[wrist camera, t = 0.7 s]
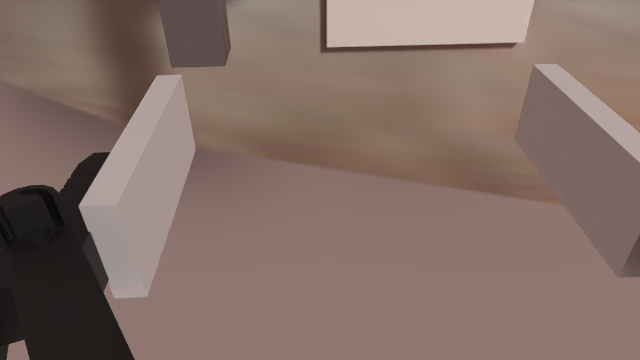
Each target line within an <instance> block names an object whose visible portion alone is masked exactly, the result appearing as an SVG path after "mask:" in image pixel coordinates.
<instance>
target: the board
mask: <svg viewBox="0 0 640 360" xmlns="http://www.w3.org/2000/svg"><path fill="white" fill-rule="evenodd" d="M533 3H534V0H326V16H327V47H357V46H397V45H436V44H476V43H516V42H524V41H525V37H526V32H527V28H528V24H529V20H530V16H531V12H532V8H533Z"/></svg>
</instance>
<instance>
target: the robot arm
mask: <svg viewBox="0 0 640 360" xmlns="http://www.w3.org/2000/svg"><path fill="white" fill-rule="evenodd" d="M515 140H516V142H517V143H518V144H519V146H520V147H521V148H522V150H523V151H524V152H525V154H526V155H527V156H528V158H529V159H530V160H531V162H532V163H533V164H534V166H535V167H536V168H537V170H538V171H539V172H540V174H541V175H542V176H543V178H544V179H545V180H546V182H547V183H548V184H549V186H550V187H551V189H552V190H553V191H554V193H555V194H556V195H557V197H558V198H559V199H560V201H561V202H562V203H563V205H564V206H565V207H566V209H567V210H568V211H569V213H570V214H571V215H572V217H573V218H574V219H575V221H576V222H577V223H578V225H579V226H580V227H581V229H582V230H583V231H584V233H585V234H586V235H587V237H588V238H589V239H590V241H591V242H592V243H593V245H594V246H595V248H596V249H597V250H598V251H599V253H600V254H601V256H602V257H603V258H604V259H605V261H606V262H607V264H608V265H609V266H610V268H611V269H612V270H613V272H614V273H615V274H616V276H617V277H618V278H620V277H640V133H639V132H638V131H636V130H635V129H634V128H633V127H632V126H631V125H629V124H628V123H627V122H626V121H625V120H623V119H622V118H621V117H620V116H619V115H617V114H616V113H615V112H614V111H613V110H611V109H610V108H609V107H608V106H607V105H605V104H604V103H603V102H602V101H601V100H599V99H598V98H597V97H596V96H595V95H593V94H592V93H591V92H590V91H589V90H588V89H586V88H585V87H584V86H583V85H582V84H580V83H579V82H578V81H577V80H576V79H574V78H573V77H572V76H571V75H570V74H568V73H567V72H566V71H565V70H564V69H562V68H561V67H560V66H559V65H558V64H537V65H533V69H532V72H531V76H530V80H529V84H528V88H527V92H526V96H525V100H524V104H523V108H522V111H521V115H520V119H519V123H518V127H517V131H516V135H515ZM195 150H196V149H195V143H194V138H193V133H192V128H191V123H190V117H189V112H188V107H187V102H186V97H185V91H184V86H183V81H182V76H181V75H159V76H156V78H155V79H154V81H153V83H152V84H151V86H150V88H149V89H148V91H147V93H146V94H145V96H144V98H143V99H142V101H141V103H140V104H139V106H138V108H137V109H136V111H135V113H134V114H133V116H132V118H131V119H130V121H129V123H128V124H127V126H126V128H125V129H124V131H123V133H122V134H121V136H120V138H119V140H118V141H117V143H116V144H115V146H114V148H113V149H112V151H111V152H105V153H93V154H92V155H90V156H89V157H88V158H86V159H85V160H83V161H82V162H81V163H79V164H78V166H77V167H76V169H75V170H74V172H73V173H72V175H71V178H69V179H68V180H67V182H66V184H65V185H64V188H62V189H61V191H60V192H59V193H58V192H57V191H56V190H55V189H54V188H53V187H49V186H45V185H31V186H26V187H22V188H17V189H15V190H12V191H10V192H8V193H5V194H3V195H1V196H0V360H6V358H7V352H8V345H9V344H11V343H14V342H17V341H21V340H24V339H25V343H26V347H27V351H28V355H29V359H30V360H135V359H134V357H133V355H132V353H131V351H130V349H129V346H128V344H127V342H126V340H125V338H124V336H123V334H122V331H121V329H120V327H119V325H118V323H117V321H116V319H115V316H114V314H113V312H112V310H111V308H110V306H109V304H108V301H107V299H106V297H105V295H104V293H103V292H104V289H105V287H106V285H107V282H108V283H109V286H110V289H111V291H112V293H113V296H114V298H138V297H147V296H148V293H149V290H150V287H151V284H152V281H153V278H154V275H155V272H156V269H157V266H158V263H159V260H160V257H161V254H162V251H163V247H164V245H165V241H166V238H167V235H168V232H169V229H170V226H171V223H172V220H173V217H174V213H175V211H176V208H177V205H178V201H179V199H180V196H181V192H182V189H183V186H184V183H185V180H186V177H187V174H188V171H189V168H190V165H191V162H192V159H193V156H194V153H195Z"/></svg>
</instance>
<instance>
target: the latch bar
mask: <svg viewBox="0 0 640 360" xmlns="http://www.w3.org/2000/svg"><path fill="white" fill-rule="evenodd" d="M158 3H159V8H160V13H161V18H162V23H163V28H164V33H165V38H166V43H167V48H168V53H169V58H170V63H171V68H174V67H212V66H225V65H226V62H227V58H228V55H229V52H230V49H231V44H230V36H229V28H228V19H227V11H226V3H225V0H158Z"/></svg>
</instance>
